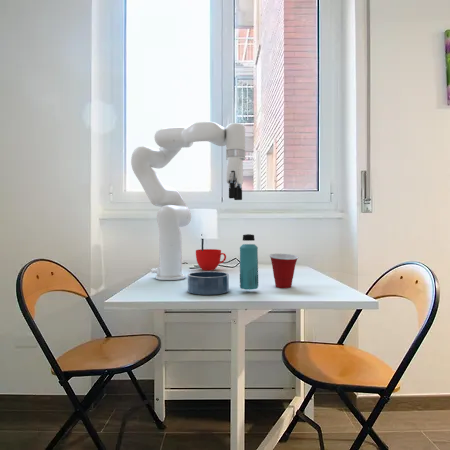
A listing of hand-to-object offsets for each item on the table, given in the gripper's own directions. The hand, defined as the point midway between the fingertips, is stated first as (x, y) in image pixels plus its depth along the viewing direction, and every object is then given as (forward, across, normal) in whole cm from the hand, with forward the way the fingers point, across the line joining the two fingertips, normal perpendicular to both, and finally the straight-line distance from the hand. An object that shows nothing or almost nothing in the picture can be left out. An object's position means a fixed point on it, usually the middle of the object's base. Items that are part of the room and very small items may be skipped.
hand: (235, 199), depth 139 cm
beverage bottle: (+34, +16, +8) cm, 38 cm away
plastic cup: (+34, +3, +19) cm, 39 cm away
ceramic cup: (+34, -36, -20) cm, 53 cm away
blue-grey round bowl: (+33, +18, -6) cm, 38 cm away
